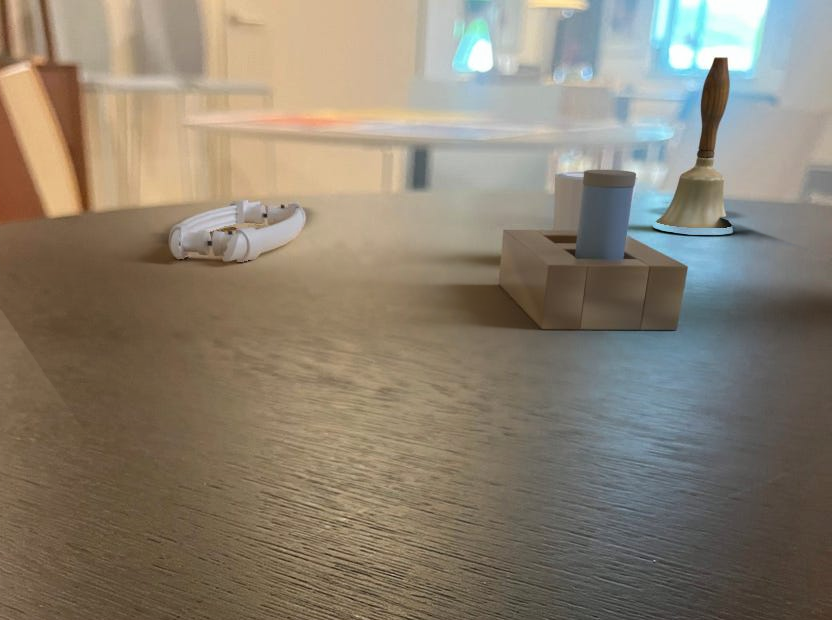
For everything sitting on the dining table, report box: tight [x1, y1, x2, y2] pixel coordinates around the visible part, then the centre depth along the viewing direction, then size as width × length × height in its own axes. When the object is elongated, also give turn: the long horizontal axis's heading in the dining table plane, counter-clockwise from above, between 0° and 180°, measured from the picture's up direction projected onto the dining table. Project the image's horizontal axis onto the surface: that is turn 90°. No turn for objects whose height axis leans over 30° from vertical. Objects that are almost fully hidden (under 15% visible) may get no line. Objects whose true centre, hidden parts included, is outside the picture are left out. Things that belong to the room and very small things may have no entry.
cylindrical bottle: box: [575, 169, 637, 259], centre depth 68 cm, size 3×3×9 cm
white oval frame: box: [168, 199, 307, 263], centre depth 94 cm, size 3×10×25 cm
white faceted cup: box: [553, 171, 638, 231], centre depth 87 cm, size 7×7×7 cm
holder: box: [498, 229, 689, 331], centre depth 72 cm, size 9×16×4 cm, turn 3°
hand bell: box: [655, 56, 733, 228], centre depth 104 cm, size 8×8×16 cm
